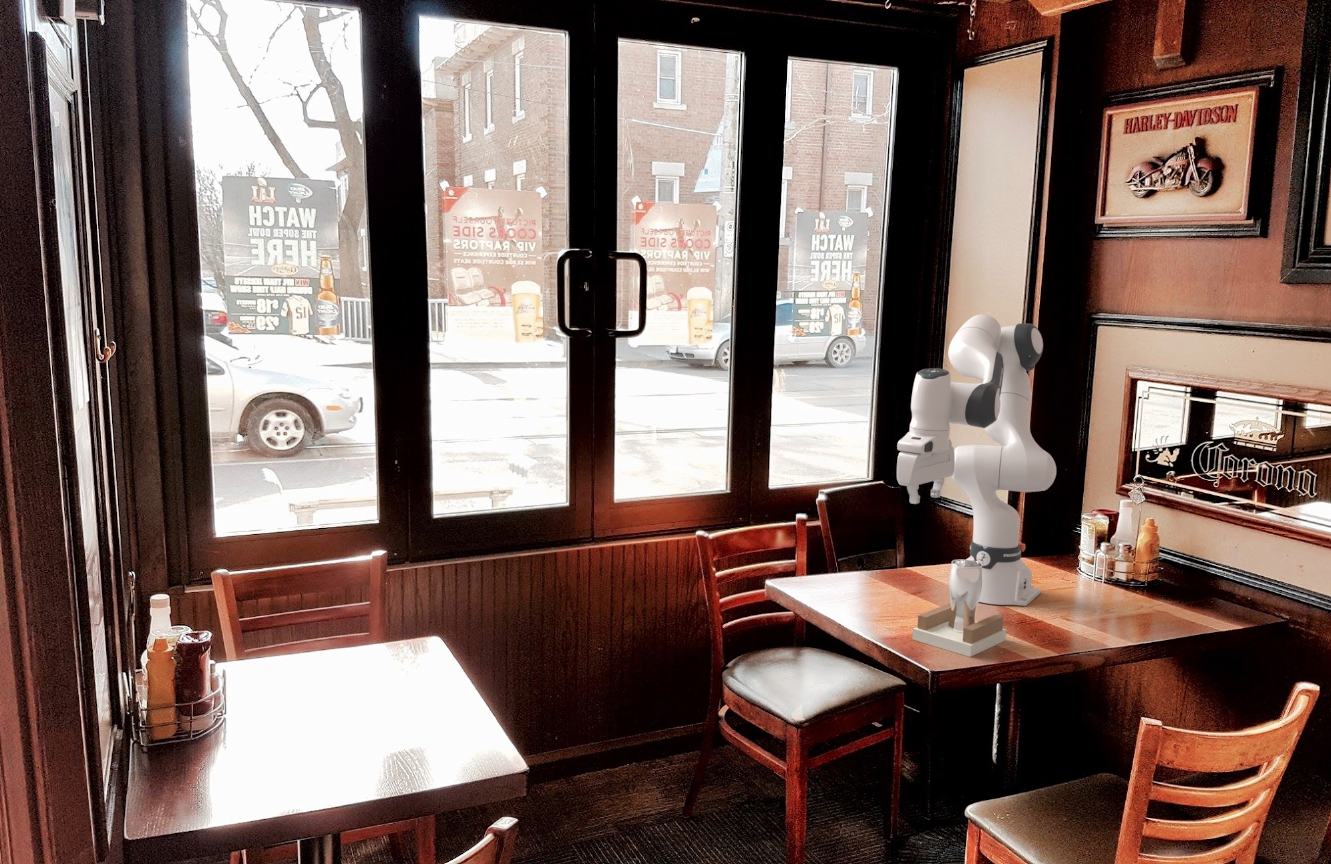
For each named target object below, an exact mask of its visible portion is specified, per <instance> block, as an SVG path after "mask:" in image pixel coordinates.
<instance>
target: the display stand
mask: <svg viewBox="0 0 1331 864" xmlns="http://www.w3.org/2000/svg"><path fill="white" fill-rule="evenodd" d="M950 616H951V602H949V603H946V604H944V605H941V606H938V607H936V608H934V609H930V610H929V611H925V612H923V613H921V614H918V615H917V626H916V627H914V628H912V636H911V637H912V638H911V639H912V641H915V642H920V643H922V644H925V645H930V646H933V647H936V648H938V649H943V650H945V651H949V652H953V653H955V654H959V655H962V656H966V657H969V658H971V657H974V656H975V655H977V654H979V653H982V652H984V651H986V650H988V649H990V648H992V647H994V646H996V645H1000V644H1001V643H1003V642H1006V641H1007V631H1008V629H1006V628H1003V627H1004V616H1002V615H998V614H993V615H990V616H989V617H986V618H984V619H980V620H979V621H977V620H976V623H974V624H972V625H969V626H967V627H965V628H964V629H963V633H960V632H955V631H952V630H950V629H949V628H948V624H949V620H950Z"/></svg>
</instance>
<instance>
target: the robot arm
mask: <svg viewBox="0 0 1331 864" xmlns="http://www.w3.org/2000/svg"><path fill="white" fill-rule="evenodd" d="M947 352H948V353H947V356H948V360H949V363H950V365H951V366H952V367H953V370H955V371H956V372H957V373H959V374H960V375H962V376H964V377H968V378H973V379H978V380H981V381H982V382H981V383H980V382H979V383H971V382H970V383H969V382H956V381H952V376H951V372H950V371H948V370H946V369H943V368H938V367H936V368H935V367H933V368H932V367H931V368H923V369H921V370H919V371H917V372H916V374H915V378H914V381H913V386H912V393H911V400H910V401H911V402H910V411H911V421H910V423H909V431H908V432H907V433H905V435H904V436H903V437H902V438H900V439H899V440H898V442H897V445H896V447H897V448H896V449H897V451H900V452H899V453H898V456H897V463H896V480H897V482H898V484H899V485H900V486H904V487H906V490H907V493H908V495H909V503H910V504H913V505H918V504H920V502H921V501H920V499H921V495H919V492H918V490H919V488H920V487H919V485H923V484H926V483H930V482H933V486H932V488H931V489H930V497H931V498H934V499H936V498H937V499H938V498H940V497H941V495H942V494H941V493H942V489H943V485H945V478H951V480H953V482H954V483H955V484H956V485H957V486H959V487H960V488H961V489H962V490H963V492H964V493H965V495H966V496H967V498H968V500H969V502H970V506H971V508H972V509H971V510H972V515H973V517H972V518H973V520H972V521H973V524H972V525H973V527H972V530H973V532H972V540H971V541H970V545H969V554H970V556H969V557H968V558H966V559H965V560H972V561H977V562H979V563H981V564H982V589H981V594H980V598H979V602H978V603H983V604H989V605H997V606H998V605H1001V606H1005V605H1006V606H1023V607H1026V606H1028V605H1029V604H1030V603H1031V602H1032V601H1033V600H1034V599H1036V598H1037V597H1038V596H1039V595H1040V594H1041V589H1040V588H1038V587H1036V586H1034V585H1032V579H1033V578H1032V577H1033V576H1032V570H1031V569H1030V568H1029V567H1028V566H1027V565H1026V564H1025V562H1024V561H1023V560H1022V554H1021V553H1022V552H1024V551H1025V550H1026V544H1025V543H1020V542H1019V539H1020V530H1021V529H1020V526H1021V516H1020V514H1019V512H1018V511H1017V509H1015V508H1014V507H1013V506H1011V505H1010V504H1008V503H1006V502H1005V501H1003V500H1001V499H1000V498H999V497H998V496H997V491H1008V492H1009V491H1012V492H1019V493H1020V492H1021V493H1032V492H1033V493H1035V492H1042V491H1043V492H1044V491H1046V490H1048V489H1049V488H1050V487H1051V486H1052V485H1053V483H1054V481H1055V479H1056V476H1057V465H1056V462H1055V460H1054V458H1053V457H1052V455H1051V454H1050V453H1049V452H1047V451H1046V450H1044V449H1043V448H1042V447H1041V446H1040V445H1039V444H1038V443H1037V442H1036V441H1035V439H1034V437H1033V436H1032V433H1031V427H1030V425H1031V423H1030V419H1031V407H1032V406H1031V404H1032V388H1031V381H1030V376H1029V374H1028V373H1027V372H1031V371H1032V370H1034V368H1035V366H1036V364H1037V363H1038V362H1039V360H1040V358H1041V357H1042V354H1043V352H1044V342H1043V337H1042V334H1041V332H1040V330H1039V329H1038V327H1037V326H1035V325H1034V324H1033V323H1026V322H1025V323H1017V324H1016V325H1015V324H1014V325H1007V326H1002V327H1001V324H1000V323H999V321H998V320H997V319H996V318H995V317H994V316H991V315H989V314H985V313H983V314H982V313H981V314H976V315H973V316H972V317H970V318H968V319H967V320H966V321H965V322H964V323H963V324H962V325H961V326H960V328H959V329H958V330H957V332H956V333H955V334H954V336H953V337H952V339H951V341H950V343H949V346H948V351H947ZM950 424H955V425H964V426H966V425H967V426H971V427H977V428H981V429H984V431H985V433H986V435H987V436H988V437H990V439H991V440H993V441H995V442H996V443H998V444H1000V445H990V444H979V443H978V444H975V443H974V444H965V445H958V446H957V447H955V448H954V446H953V442H952V440H951V439H950V431H951V427H950V426H951V425H950Z"/></svg>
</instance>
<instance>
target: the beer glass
mask: <svg viewBox="0 0 1331 864" xmlns="http://www.w3.org/2000/svg"><path fill="white" fill-rule="evenodd" d="M950 564H951V565H950V570H949V577H948V579H949V580H948V581H949V582H948V589H949V591H948V592H949V598H950V602H949V603H951V616H950V620H949V624H948V628H949V629H950V630H952V631H955V632H960V633H963V629H964V628H965V627H967V626H969V625H972V624H974V623H976V621H977V620H976V619H977V618H976V617H977V616H976V615H977V610H978V605H979V603H980V602H979V598H980V594H981V589H982V564H981V563H979V562H977V561H972V560H966V559H965V558H964V559H962V558H961V559H953V560H952V561H951V563H950Z"/></svg>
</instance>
